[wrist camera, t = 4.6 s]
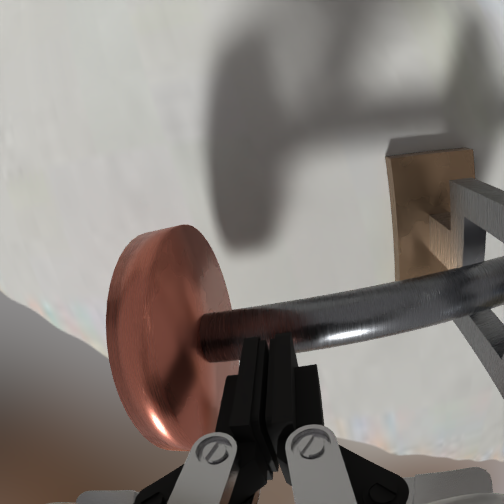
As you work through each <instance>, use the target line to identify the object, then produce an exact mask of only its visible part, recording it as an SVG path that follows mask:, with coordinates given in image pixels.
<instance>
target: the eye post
mask: <svg viewBox="0 0 504 504" xmlns="http://www.w3.org/2000/svg"><path fill="white" fill-rule="evenodd" d="M385 159H386V166H387V174H388V182H389V191H390V201H391V212H392V224H393V238H394V257H395V282H396V281H400V280H405V279H410V278H415V277H419V276H424V275H428V274H433V273H437V272H441V271H446V270H450V269H454V268H459V267H463V266H467V265H471V264H475V263H479V262H483V261H484V256H485V241H486V231H487V232H488V233H490V234H491V235H493V236H494V237H496V238H497V239H499V240H500V241H501V242H503V243H504V191H503V190H501V189H498V188H496V187H494V186H491V185H489V184H486V183H484V182H481V181H479V180H476V179H475V169H474V155H473V149H469V148H457V149H446V150H436V151H427V152H418V153H410V154H402V155H394V156H386V157H385ZM453 321H454V323H455V324H456V325H457V327H458V328H459V330H460V331H461V333H462V334H463V335H464V337H465V338H466V340H467V341H468V343H469V344H470V346H471V347H472V349H473V350H474V352H475V353H476V355H477V356H478V358H479V359H480V361H481V363H482V364H483V366H484V367H485V369H486V370H487V372H488V374H489V375H490V377H491V379H492V380H493V382H494V383H495V385H496V387H497V388H498V390H499V392H500V393H501V395H502V397H503V399H504V324H503V323H502V322H501V321H500V320H499V318H498V317H497V316H496V315H495V314H494V313H493V312H492V310H491V309H488V310H485V311H482V312H479V313H475V314H472V315H469V316H465V317H462V318H458V319H455V320H453Z"/></svg>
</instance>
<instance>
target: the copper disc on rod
mask: <svg viewBox="0 0 504 504" xmlns="http://www.w3.org/2000/svg"><path fill="white" fill-rule="evenodd" d="M501 305H504V256H503V257H499V258H495V259H491V260H487V261H483V262H479V263H475V264H471V265H467V266H463V267H459V268H454V269H450V270H446V271H441V272H437V273H433V274H428V275H424V276H419V277H415V278H410V279H405V280H400V281H396V282H391V283H386V284H381V285H376V286H371V287H366V288H361V289H355V290H350V291H345V292H339V293H334V294H328V295H323V296H317V297H311V298H305V299H299V300H293V301H287V302H281V303H275V304H268V305H262V306H255V307H249V308H242V309H235V310H232V308H231V304H230V299H229V295H228V291H227V288H226V284H225V281H224V278H223V274H222V272H221V269H220V266H219V264H218V261H217V259H216V256H215V254H214V252H213V250H212V248H211V247H210V245H209V243H208V242H207V240H206V239H205V237H204V236H203V235H202V234H201V233H200V232H199V231H198V230H197V229H196V228H194V227H193V226H190V225H179V226H175V227H170V228H166V229H161V230H157V231H152V232H148V233H144V234H141V235H139V236H137V237H136V238H134V239H133V240H132V241H131V242H130V243H129V244H128V245H127V246H126V247H125V249H124V251H123V252H122V254H121V256H120V257H119V260H118V262H117V264H116V267H115V269H114V272H113V276H112V280H111V283H110V288H109V294H108V300H107V313H106V336H107V347H108V355H109V362H110V366H111V370H112V375H113V379H114V382H115V385H116V388H117V391H118V394H119V397H120V399H121V402H122V404H123V406H124V408H125V410H126V412H127V414H128V416H129V417H130V419H131V420H132V422H133V424H134V425H135V427H136V428H137V429H138V430H139V431H140V433H141V434H142V435H143V436H144V437H145V438H146V439H147V440H149V441H150V442H151V443H152V444H154V445H156V446H157V447H159V448H162V449H165V450H173V451H175V450H176V451H191V448H192V446H193V445H194V443H195V442H196V441H197V440H198V439H199V438H200V437H202V436H204V435H206V434H210V433H213V432H215V429H216V424H217V419H218V415H219V410H220V405H221V400H222V395H223V390H224V385H225V380H226V377H227V376H228V375H238V371H239V360H240V359H241V353H242V347H243V341H244V338H251V337H258V336H259V337H260V338H261V340H266V341H267V344H268V348H269V346H270V339H273V338H275V334H279V333H286V332H291V334H292V339H293V344H294V349H295V353H300V352H307V351H313V350H319V349H325V348H331V347H337V346H342V345H348V344H353V343H358V342H363V341H368V340H373V339H378V338H382V337H387V336H391V335H396V334H400V333H404V332H409V331H413V330H417V329H421V328H425V327H429V326H433V325H437V324H440V323H444V322H448V321H451V320H455V319H458V318H462V317H465V316H469V315H472V314H475V313H479V312H482V311H485V310H488V309H491V308H494V307H498V306H501Z"/></svg>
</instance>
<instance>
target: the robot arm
mask: <svg viewBox="0 0 504 504" xmlns="http://www.w3.org/2000/svg"><path fill="white" fill-rule="evenodd" d="M279 465H280V467H281V470H282V472H283V475H284V477H285V480H286V482H287V483H288V484H289V485H291V486H292V489H293V494H294V500H295V504H504V494H499V493H493V490H492V480H491V477H490V474H489V473H488V472H487V471H486V470H484V469H482V468H479V467H472V468H466V469H460V470H453V471H446V472H438V473H429V474H418V475H415V477H410V478H402V477H400V476H399V475H397V474H395V473H393V472H390V471H388V470H386V469H384V468H382V467H380V466H378V465H376V464H374V463H372V462H370V461H368V460H366V459H364V458H363V457H361V456H359V455H357V454H355V453H353V452H351V451H349V450H347V449H346V448H344V447H342V446H340V445H338V442H337V439H336V436H335V435H334V433H333V431H331V430H330V429H329V428H328V427H325V426H324V419H323V409H322V400H321V391H320V384H319V377H318V370H317V364H315V365H308V366H302V367H298V363H297V359H296V354H295V349H294V344H293V339H292V334H291V332H286V333H279V334H275V338H273V339H270V346H269V348H268V344H267V341H266V340H261V338H260V337H259V336H258V337H251V338H244V341H243V347H242V353H241V359H240V365H239V371H238V375H228V376H227V377H226V380H225V385H224V390H223V395H222V400H221V405H220V410H219V415H218V419H217V424H216V429H215V432H213V433H210V434H206V435H204V436H202V437H200V438H199V439H198V440H197V441H196V442H195V443H194V445H193V446H192V448H191V451H190V453H189V455H188V458H187V460H186V462H185V464H183V465H182V466H180V467H179V468H177V469H176V470H174V471H172V472H171V473H169V474H168V475H166V476H164V477H163V478H161V479H159V480H158V481H156V482H155V483H153V484H151V485H149V486H148V487H146V488H145V489H143V490H142V491H140V492H136V491H134V490H122V491H87V492H84V493H82V494H81V495H80V496H79V497H78V498H77V501H76V503H67V502H62V503H61V502H57V503H49V504H258V500H259V496H260V488H262V487H263V486H264V485H266V483H267V480H272V479H273V472H276V471H278V468H279Z"/></svg>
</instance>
